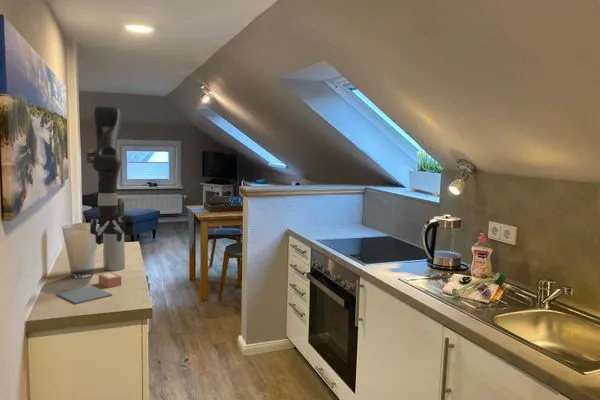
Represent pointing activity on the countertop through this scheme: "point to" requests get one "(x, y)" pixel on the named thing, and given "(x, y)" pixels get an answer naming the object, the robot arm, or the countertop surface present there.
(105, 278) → the card box
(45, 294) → the countertop surface
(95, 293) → the mat
